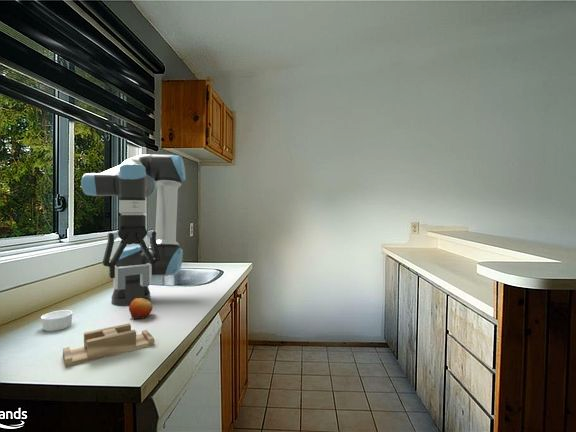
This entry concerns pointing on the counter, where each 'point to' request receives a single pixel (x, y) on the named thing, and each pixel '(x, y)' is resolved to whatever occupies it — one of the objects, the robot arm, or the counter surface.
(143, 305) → the fruit
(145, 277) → the clip
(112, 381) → the counter surface
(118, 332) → the rail
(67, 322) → the ramekin
